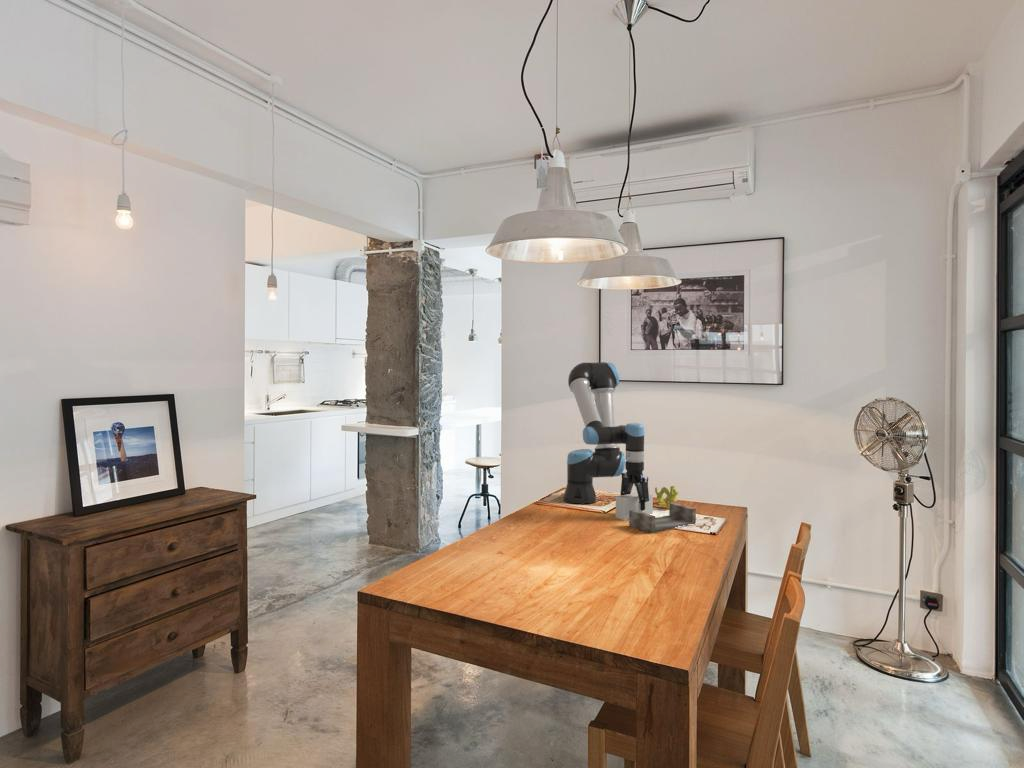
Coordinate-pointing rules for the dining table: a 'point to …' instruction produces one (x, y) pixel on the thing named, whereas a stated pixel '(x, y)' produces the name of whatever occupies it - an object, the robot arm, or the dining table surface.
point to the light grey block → (631, 505)
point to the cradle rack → (663, 519)
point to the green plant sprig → (670, 496)
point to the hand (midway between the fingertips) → (634, 515)
